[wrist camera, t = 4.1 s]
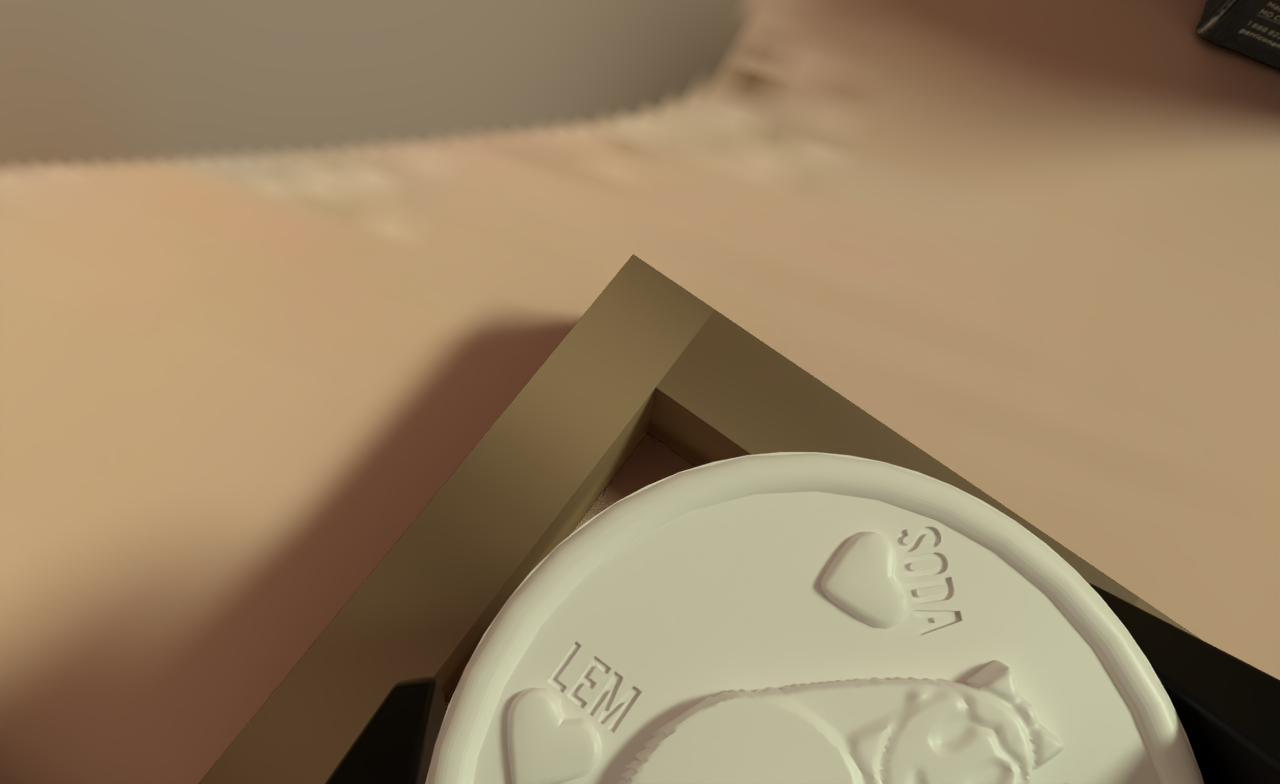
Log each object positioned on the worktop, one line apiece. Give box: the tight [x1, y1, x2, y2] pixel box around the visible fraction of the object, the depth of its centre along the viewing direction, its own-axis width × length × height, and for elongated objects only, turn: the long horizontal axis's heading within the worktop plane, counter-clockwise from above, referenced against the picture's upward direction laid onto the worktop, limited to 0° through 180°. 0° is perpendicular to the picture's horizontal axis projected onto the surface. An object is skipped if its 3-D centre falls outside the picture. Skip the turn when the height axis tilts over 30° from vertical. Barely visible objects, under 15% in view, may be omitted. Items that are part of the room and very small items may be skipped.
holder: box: [199, 254, 1200, 784], centre depth 14 cm, size 12×12×3 cm
